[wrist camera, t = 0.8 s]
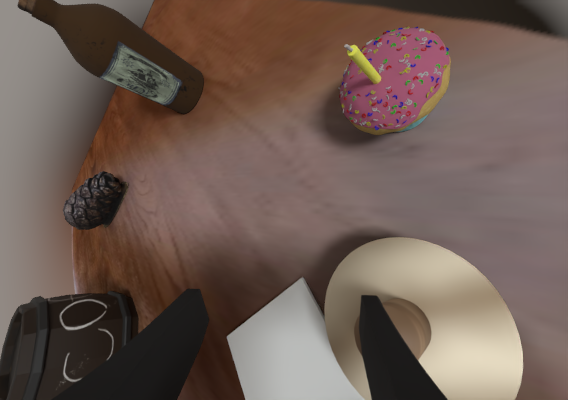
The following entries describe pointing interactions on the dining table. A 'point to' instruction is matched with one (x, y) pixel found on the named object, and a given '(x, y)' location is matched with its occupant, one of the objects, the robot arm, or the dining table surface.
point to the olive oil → (121, 52)
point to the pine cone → (95, 201)
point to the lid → (427, 318)
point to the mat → (288, 352)
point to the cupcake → (394, 80)
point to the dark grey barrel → (62, 342)
